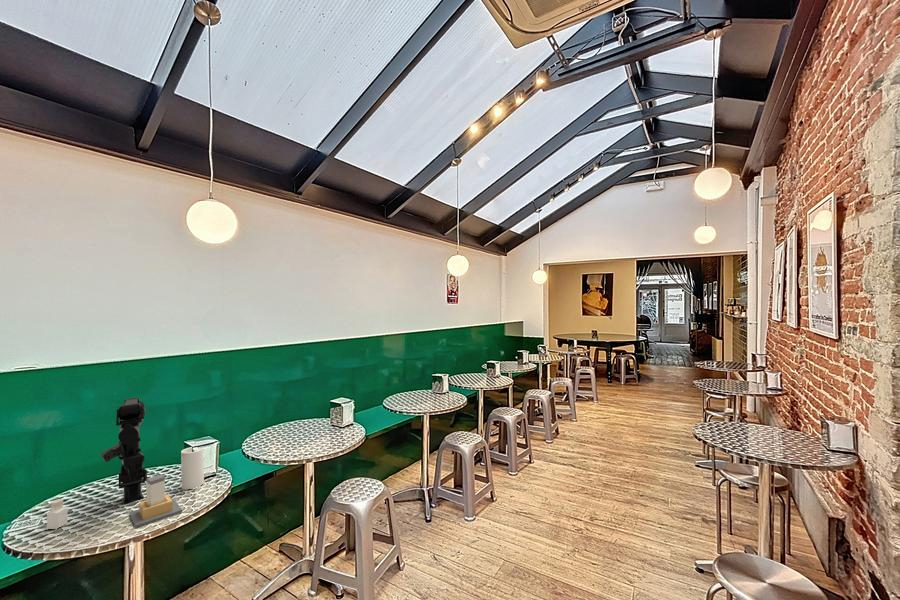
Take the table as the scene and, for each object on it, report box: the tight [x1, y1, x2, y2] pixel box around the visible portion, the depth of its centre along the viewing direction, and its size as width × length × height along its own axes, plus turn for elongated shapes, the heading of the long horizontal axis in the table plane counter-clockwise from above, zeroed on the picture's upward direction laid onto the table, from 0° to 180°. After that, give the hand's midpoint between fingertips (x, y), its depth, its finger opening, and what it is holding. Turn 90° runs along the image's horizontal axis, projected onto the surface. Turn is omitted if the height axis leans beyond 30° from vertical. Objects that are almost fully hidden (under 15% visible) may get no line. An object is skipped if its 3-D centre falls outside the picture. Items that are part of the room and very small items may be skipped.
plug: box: [145, 474, 166, 508], centre depth 147 cm, size 4×4×12 cm
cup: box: [180, 446, 205, 491], centre depth 170 cm, size 8×8×16 cm
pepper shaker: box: [46, 498, 68, 530], centre depth 140 cm, size 4×4×10 cm
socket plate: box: [128, 493, 183, 529], centre depth 147 cm, size 14×14×4 cm
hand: (130, 476), depth 150 cm, fingers open, 9 cm apart
